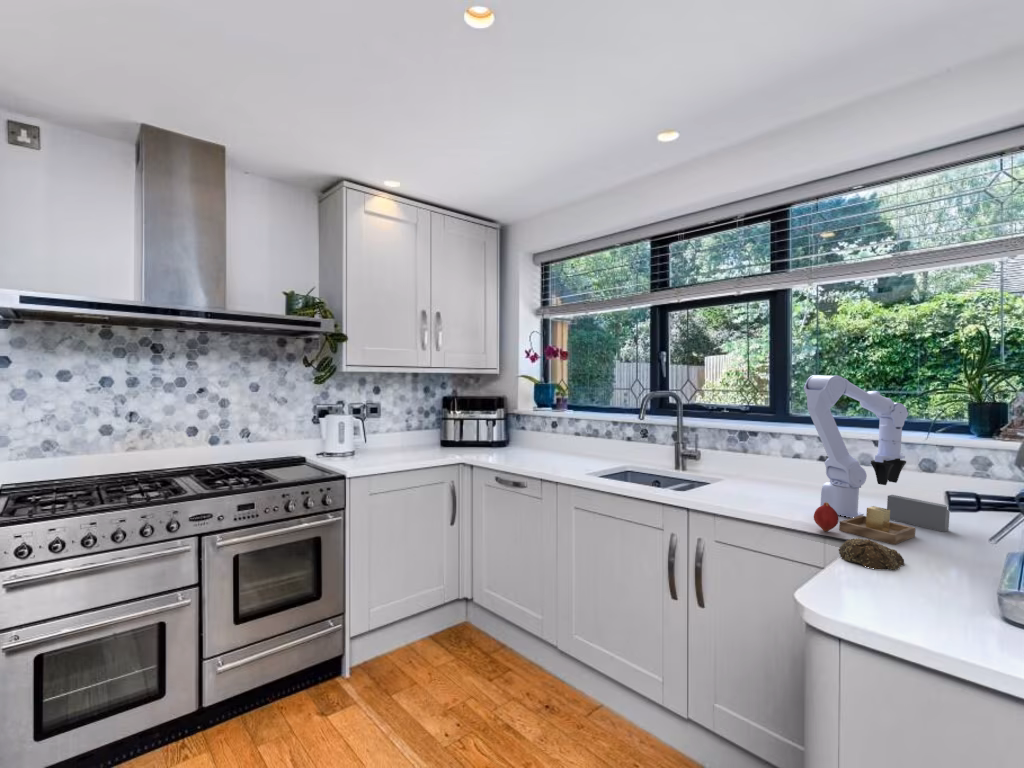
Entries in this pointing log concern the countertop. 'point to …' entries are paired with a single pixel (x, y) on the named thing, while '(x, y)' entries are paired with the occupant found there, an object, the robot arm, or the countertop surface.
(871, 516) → the brass block
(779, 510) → the countertop surface
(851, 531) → the tray
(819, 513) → the onion
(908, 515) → the wall unit
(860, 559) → the bread roll
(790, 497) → the countertop surface
